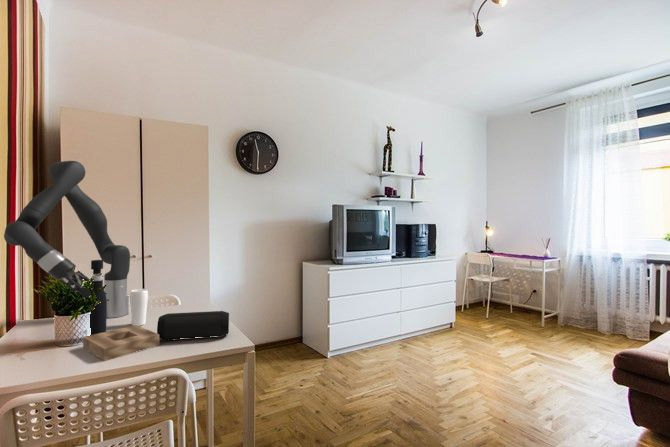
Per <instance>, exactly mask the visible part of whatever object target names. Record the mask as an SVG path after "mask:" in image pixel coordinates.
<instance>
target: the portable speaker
mask: <svg viewBox="0 0 670 447" xmlns="http://www.w3.org/2000/svg"><path fill="white" fill-rule="evenodd" d="M156 326H157V328H156V333H157V334H159V340H163V341H166V340H167V341H174V340H173V339H180V338H195V337H210V336H222V335H224V336H227V335H229V334H228V333H229V331H230V312H228V311H224V310H214V311H213V310H211V311H193V312H192V311H191V312H189V311H188V312H173V313H171V312H170V313H169V312H168V313H166V314H163V315H160V316H159V317H158V319H157V324H156ZM226 334H227V335H226ZM222 337H223V336H222Z"/></svg>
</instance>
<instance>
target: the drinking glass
mask: <svg viewBox="0 0 670 447" xmlns="http://www.w3.org/2000/svg"><path fill="white" fill-rule="evenodd" d="M129 293H130V294H129V303H130V304H129V305H130V306H129V307H130V314H131V315H130V316H131V326H132V325H133V326H135V325H137V326H138V325H142V326H144V325H145V324H146V323H147V321H146V320H147V312H148V311H147V310H148V301H149V291H148V289H146V288H136V289H132V290H130V292H129ZM143 324H144V325H143Z"/></svg>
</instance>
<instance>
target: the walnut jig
mask: <svg viewBox="0 0 670 447" xmlns="http://www.w3.org/2000/svg"><path fill="white" fill-rule="evenodd" d="M82 337H83V340H82V342H83V343H82V348H83V349H84V350H85V351H87V352H89V353H91V354H92V355H94V356H96V357H97V358H99V359H100V360H102V361H104V362H106V361H109V360H112V359H116V357H117V358H119V357H124V356H126V354H127V355H130V354H129V353H131V354H134V353H133V352H135V353H137V352H136V351H138V352H140V351H139V350H142V351H144V350H143V349H145V350H147V349H146V348H149V349H151V348H150V347H152V348H154V347H153V346H156V347H158V346H157V345H159V346H160V339H159V334H157V332H154V331H152V330H149V329H146V328H144V327H142V326H137V325H135V326H132V325H131V326H127V327H122V328H118V329H117V328H116V329H113V330H108V331H106V332H103V333H99V334H94V335H90V336H82ZM123 355H124V356H123Z"/></svg>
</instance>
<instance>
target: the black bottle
mask: <svg viewBox="0 0 670 447" xmlns="http://www.w3.org/2000/svg"><path fill="white" fill-rule="evenodd" d="M103 269H104V261H103V260H102V259H93V260H90V270H92V274H93V275H92V277H91V280H92V279H93V278H94V281H93V282H92V283H94V291H95V295H96V297H97V300H100V301H101V303H99V304H97V305H96V306H95V309H94V310H93V311H91V314H90V328H91V335H94V334H99V333H103V332H107V317H106V315H107V299H106V294H104V293H105V291H104V280H103V278H102V277H103V275H102V270H103ZM96 283H97V285H96ZM99 288H103V290H100V291H99V292H96V290H99Z"/></svg>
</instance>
